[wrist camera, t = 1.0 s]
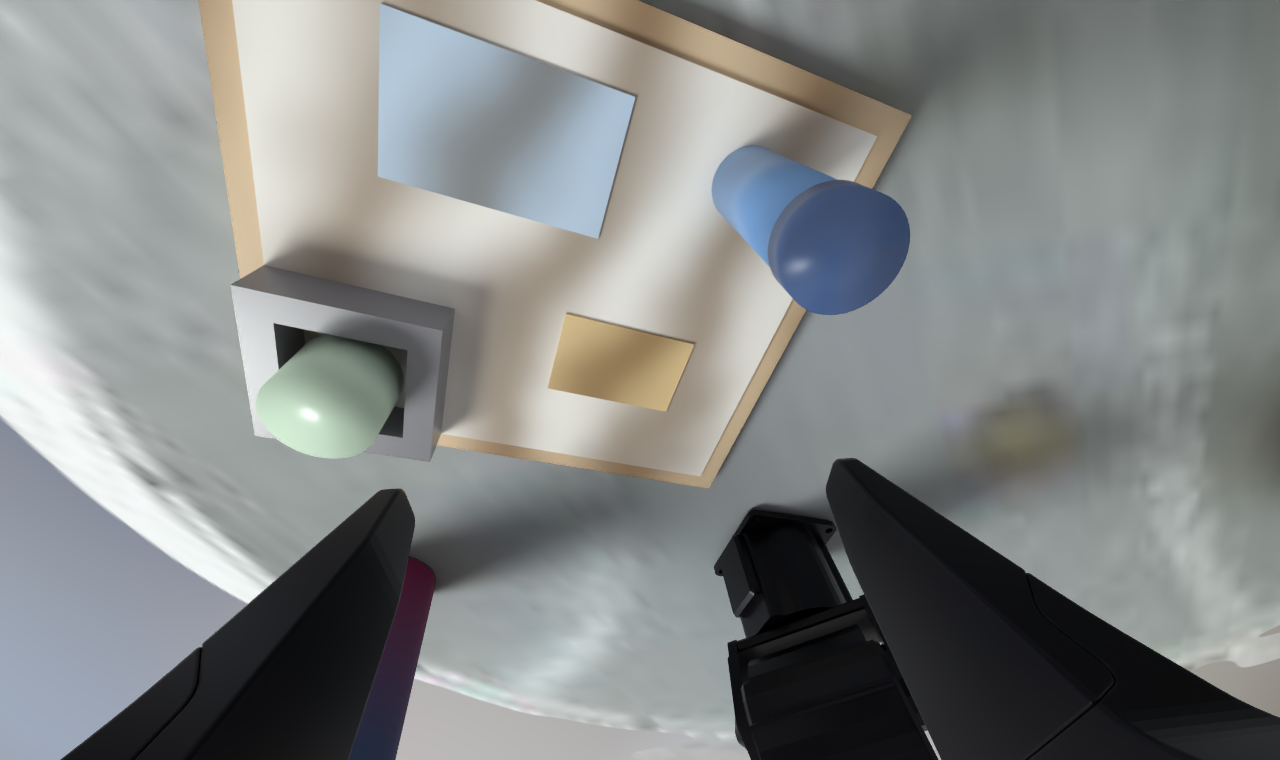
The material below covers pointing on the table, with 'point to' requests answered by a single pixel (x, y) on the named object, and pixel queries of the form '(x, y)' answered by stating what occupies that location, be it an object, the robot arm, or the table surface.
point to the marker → (813, 228)
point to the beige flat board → (534, 203)
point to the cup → (396, 669)
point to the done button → (331, 396)
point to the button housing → (294, 301)
